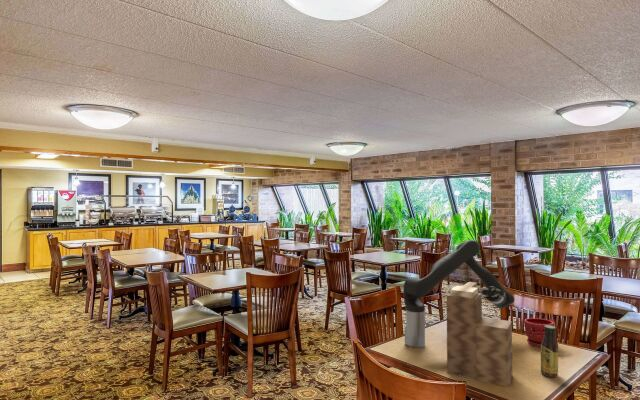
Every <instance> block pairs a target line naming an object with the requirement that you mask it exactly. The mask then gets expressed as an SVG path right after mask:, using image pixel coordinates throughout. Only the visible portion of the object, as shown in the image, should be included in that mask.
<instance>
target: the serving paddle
mask: <svg viewBox="0 0 640 400" xmlns="http://www.w3.org/2000/svg"><path fill="white" fill-rule="evenodd" d="M452 287H453V288H452V289H450V288H449V289H450V296H457V297H465V298H474V297H475V296H476V295H477V294H478V288H479V287H478V283H477V282H473V281H468V282H466V283H465V284H464V285H455V286H452Z"/></svg>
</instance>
